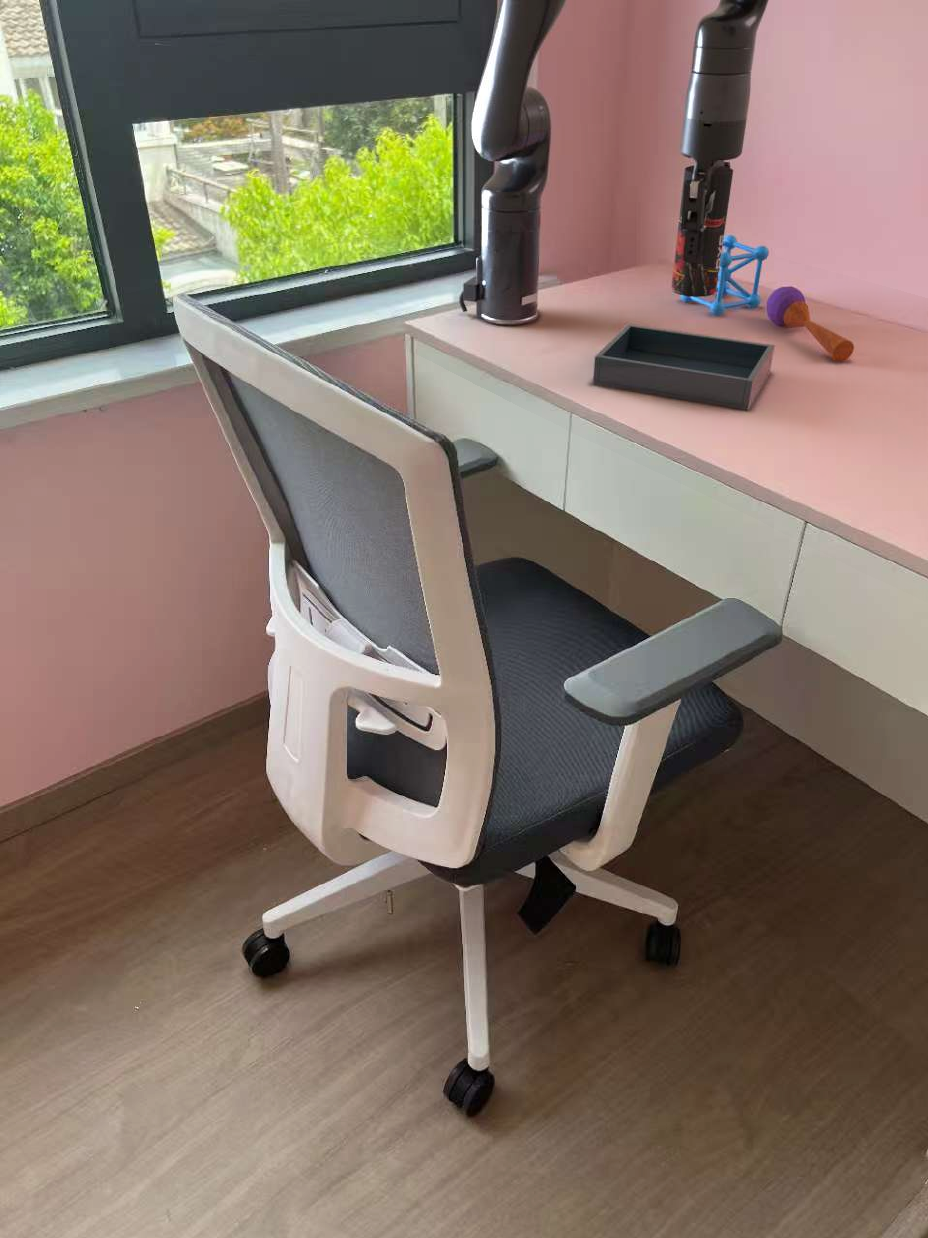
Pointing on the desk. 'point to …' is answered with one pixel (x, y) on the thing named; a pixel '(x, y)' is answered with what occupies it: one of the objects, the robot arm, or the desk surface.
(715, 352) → the dark grey tray
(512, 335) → the desk surface
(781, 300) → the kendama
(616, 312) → the desk surface
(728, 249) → the molecular structure
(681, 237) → the deodorant
